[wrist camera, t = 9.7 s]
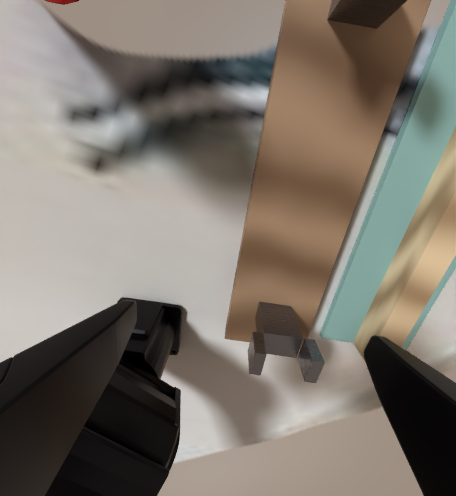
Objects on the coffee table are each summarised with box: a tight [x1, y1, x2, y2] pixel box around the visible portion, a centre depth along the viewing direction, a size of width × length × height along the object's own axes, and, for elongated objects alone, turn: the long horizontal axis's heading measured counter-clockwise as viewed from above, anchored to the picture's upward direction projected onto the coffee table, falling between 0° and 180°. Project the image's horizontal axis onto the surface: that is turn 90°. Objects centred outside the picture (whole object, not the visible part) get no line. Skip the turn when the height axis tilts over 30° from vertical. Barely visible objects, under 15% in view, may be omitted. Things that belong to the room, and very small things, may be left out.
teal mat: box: [320, 0, 456, 350], centre depth 18 cm, size 28×9×1 cm, turn 172°
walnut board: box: [225, 0, 431, 349], centre depth 17 cm, size 30×8×2 cm, turn 172°
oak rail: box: [353, 127, 456, 360], centre depth 17 cm, size 28×2×2 cm, turn 172°
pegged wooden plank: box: [248, 0, 407, 383], centre depth 14 cm, size 24×5×6 cm, turn 172°
